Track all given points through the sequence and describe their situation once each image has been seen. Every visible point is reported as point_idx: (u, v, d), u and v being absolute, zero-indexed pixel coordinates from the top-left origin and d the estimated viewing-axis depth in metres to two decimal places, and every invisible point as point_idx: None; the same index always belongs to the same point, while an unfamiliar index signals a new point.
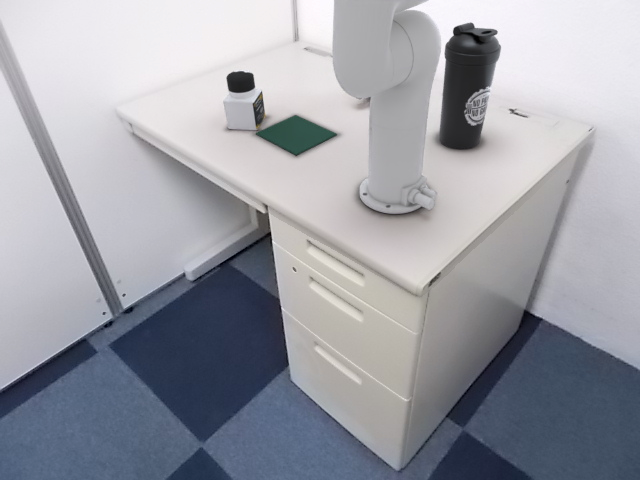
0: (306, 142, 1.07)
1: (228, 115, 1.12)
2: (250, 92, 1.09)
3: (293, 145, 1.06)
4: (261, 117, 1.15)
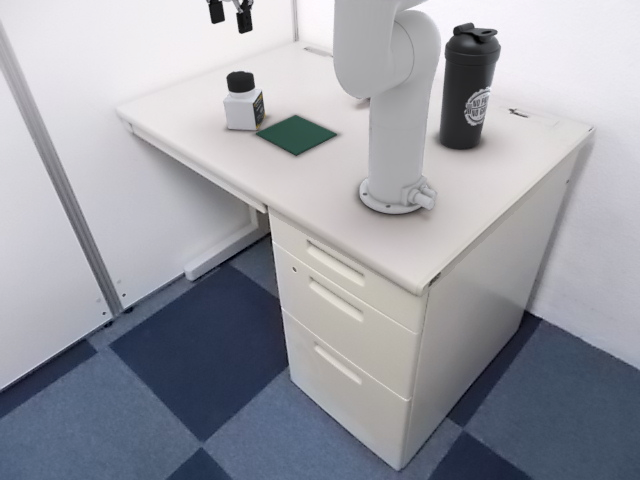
0: (306, 142, 1.07)
1: (228, 115, 1.12)
2: (250, 92, 1.09)
3: (293, 145, 1.06)
4: (261, 117, 1.15)
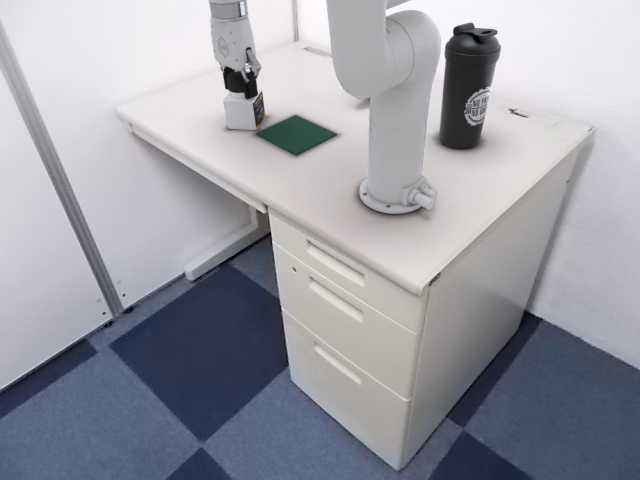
0: (306, 142, 1.07)
1: (228, 115, 1.12)
2: None
3: (293, 145, 1.06)
4: (261, 117, 1.15)
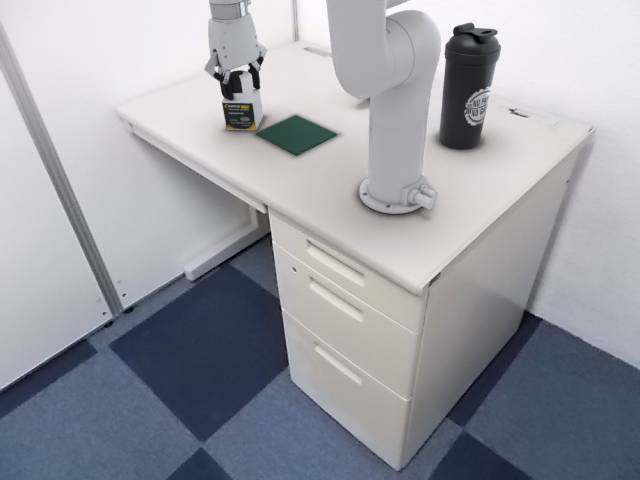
0: (306, 142, 1.07)
1: None
2: None
3: (293, 145, 1.06)
4: (242, 125, 1.12)
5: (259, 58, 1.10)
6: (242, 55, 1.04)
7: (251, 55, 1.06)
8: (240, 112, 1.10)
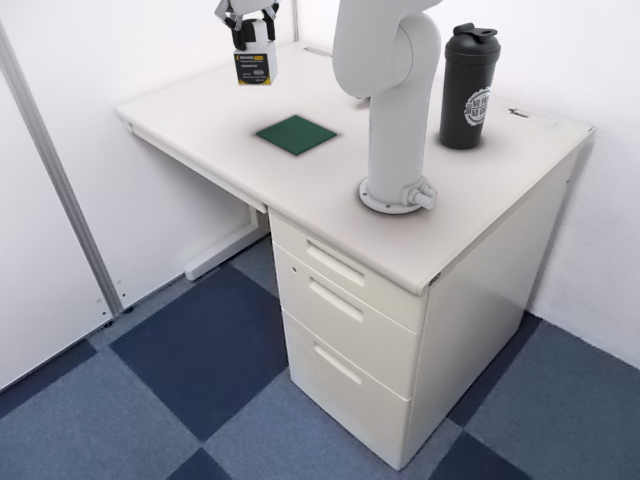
0: (306, 142, 1.07)
1: None
2: None
3: (293, 145, 1.06)
4: (255, 79, 1.02)
5: (274, 5, 1.00)
6: None
7: (266, 0, 0.96)
8: (253, 64, 1.00)
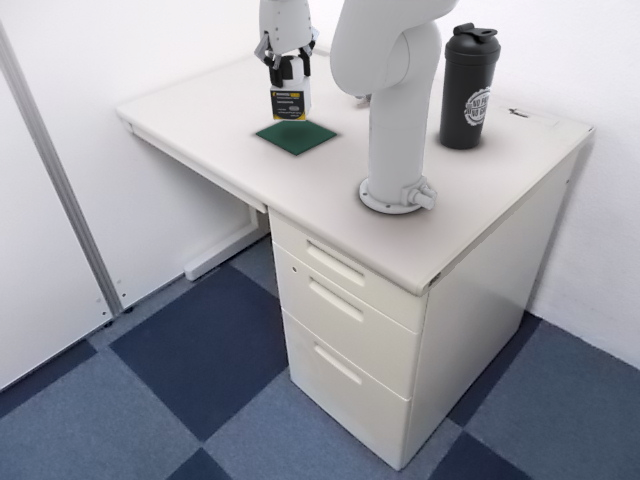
0: (306, 142, 1.07)
1: None
2: None
3: (293, 145, 1.06)
4: (290, 115, 1.03)
5: (311, 42, 1.01)
6: (295, 38, 0.95)
7: (304, 39, 0.97)
8: (289, 101, 1.01)
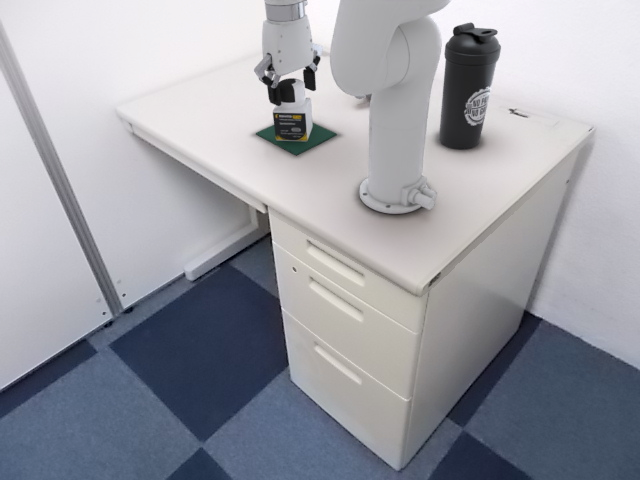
0: (306, 142, 1.07)
1: None
2: (281, 103, 1.03)
3: (293, 145, 1.06)
4: (292, 136, 1.06)
5: (316, 58, 1.04)
6: (297, 59, 0.98)
7: (306, 60, 1.00)
8: (291, 122, 1.04)
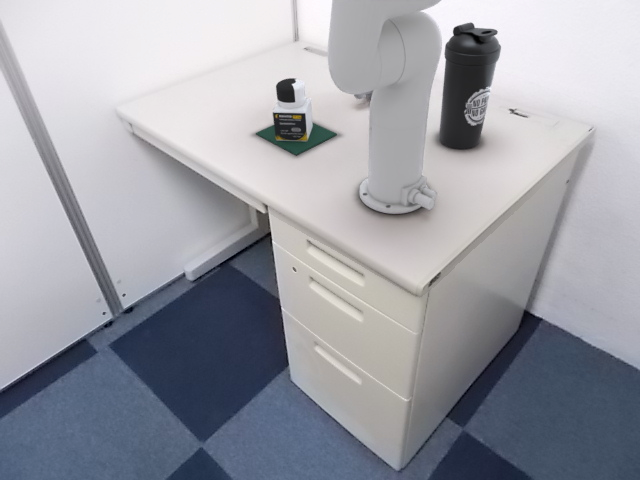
0: (306, 142, 1.07)
1: None
2: (281, 103, 1.03)
3: (293, 145, 1.06)
4: (292, 136, 1.06)
5: None
6: None
7: None
8: (291, 122, 1.04)
